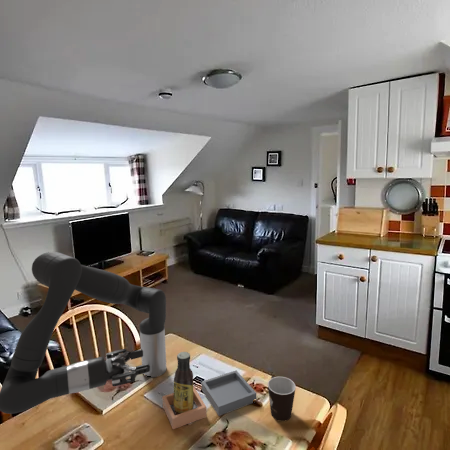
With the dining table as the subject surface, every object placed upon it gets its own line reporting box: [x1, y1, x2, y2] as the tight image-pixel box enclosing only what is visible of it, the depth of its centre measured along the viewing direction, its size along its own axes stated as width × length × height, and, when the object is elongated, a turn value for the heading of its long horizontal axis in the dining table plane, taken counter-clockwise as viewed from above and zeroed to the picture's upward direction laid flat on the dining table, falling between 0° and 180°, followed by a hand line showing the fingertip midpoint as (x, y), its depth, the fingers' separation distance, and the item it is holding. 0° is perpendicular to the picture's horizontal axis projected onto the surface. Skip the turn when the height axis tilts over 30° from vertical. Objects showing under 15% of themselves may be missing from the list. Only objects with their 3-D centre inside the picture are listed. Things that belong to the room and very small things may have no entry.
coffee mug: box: [267, 375, 297, 422], centre depth 103 cm, size 12×9×10 cm
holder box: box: [161, 385, 208, 430], centre depth 104 cm, size 11×11×4 cm
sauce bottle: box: [173, 351, 194, 415], centre depth 103 cm, size 7×6×20 cm
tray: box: [201, 370, 257, 417], centre depth 111 cm, size 14×14×3 cm
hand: (145, 359), depth 96 cm, fingers open, 8 cm apart
